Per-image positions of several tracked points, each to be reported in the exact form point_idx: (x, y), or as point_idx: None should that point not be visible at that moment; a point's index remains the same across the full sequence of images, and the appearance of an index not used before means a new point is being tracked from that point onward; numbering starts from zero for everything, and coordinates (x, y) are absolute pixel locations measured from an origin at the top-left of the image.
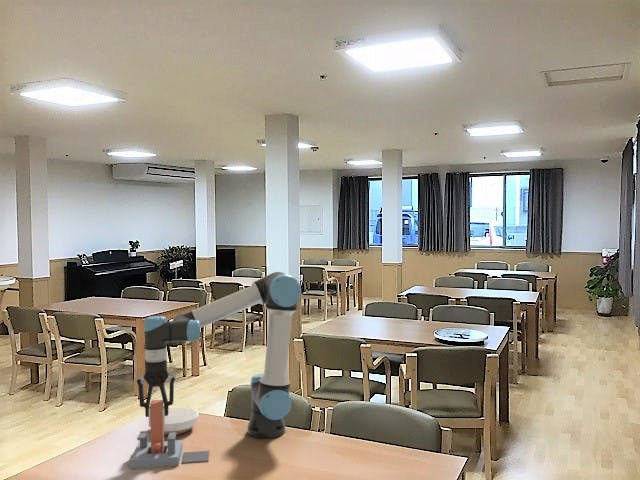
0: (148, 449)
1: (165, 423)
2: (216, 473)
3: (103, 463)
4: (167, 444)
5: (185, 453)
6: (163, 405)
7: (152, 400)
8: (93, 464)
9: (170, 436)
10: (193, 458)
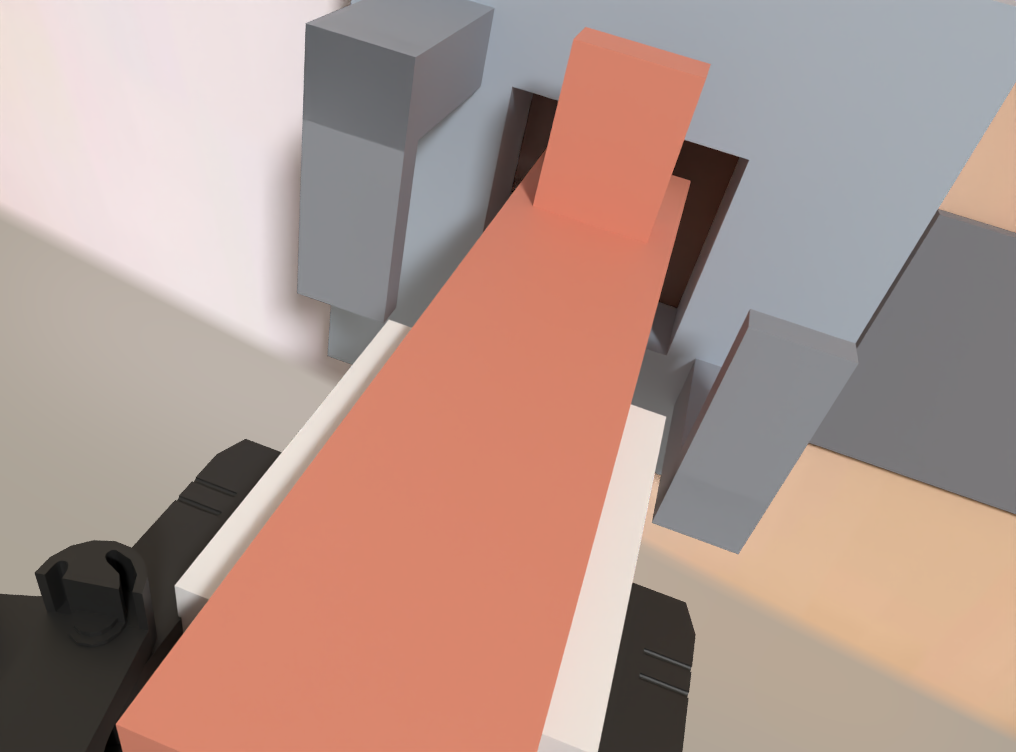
0: (494, 171)
1: (660, 431)
2: (973, 698)
3: (111, 66)
4: (758, 108)
5: (939, 254)
6: (546, 741)
7: (142, 746)
8: (31, 46)
9: (714, 464)
10: (949, 419)
